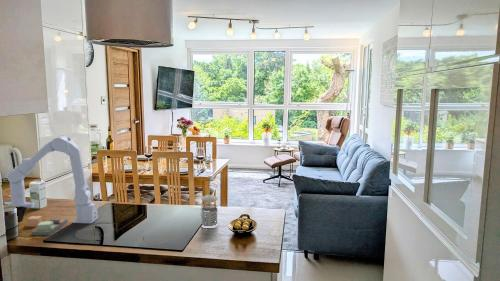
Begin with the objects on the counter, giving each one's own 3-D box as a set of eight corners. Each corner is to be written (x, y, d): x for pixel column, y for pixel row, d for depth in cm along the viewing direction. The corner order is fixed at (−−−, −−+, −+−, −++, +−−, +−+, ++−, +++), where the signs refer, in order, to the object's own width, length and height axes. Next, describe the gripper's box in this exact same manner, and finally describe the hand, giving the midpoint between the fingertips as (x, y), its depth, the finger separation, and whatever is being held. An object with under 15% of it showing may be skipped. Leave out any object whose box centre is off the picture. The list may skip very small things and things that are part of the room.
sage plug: (53, 229, 166) (52, 221, 165) (50, 232, 162) (49, 224, 161) (41, 229, 165) (41, 221, 164) (38, 233, 161) (37, 224, 160)
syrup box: (47, 205, 198) (45, 180, 195) (40, 209, 192) (38, 183, 190) (37, 205, 198) (36, 180, 196) (30, 208, 192) (28, 182, 190)
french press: (223, 223, 176) (223, 175, 173) (210, 231, 166) (211, 180, 162) (206, 220, 181) (206, 172, 177) (193, 228, 170) (193, 177, 166)
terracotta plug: (42, 223, 172) (42, 216, 171) (37, 226, 168) (37, 218, 167) (32, 223, 172) (32, 215, 171) (27, 226, 168) (26, 218, 167)
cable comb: (67, 222, 174) (67, 217, 174) (49, 235, 158) (49, 230, 158) (51, 222, 174) (51, 217, 174) (31, 234, 159) (31, 229, 158)
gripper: (38, 192, 172) (39, 218, 174) (8, 191, 172) (10, 218, 174) (28, 196, 165) (30, 224, 167) (-2, 195, 165) (0, 223, 167)
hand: (20, 221), depth 170 cm, fingers closed
